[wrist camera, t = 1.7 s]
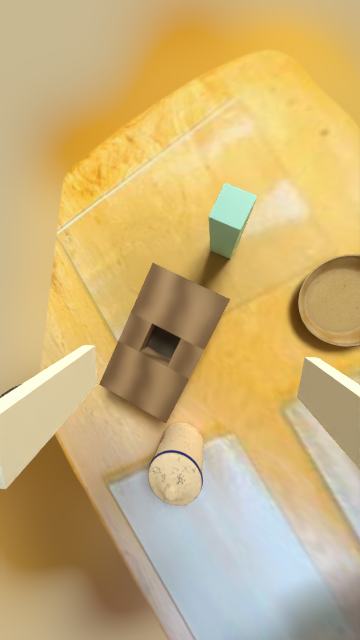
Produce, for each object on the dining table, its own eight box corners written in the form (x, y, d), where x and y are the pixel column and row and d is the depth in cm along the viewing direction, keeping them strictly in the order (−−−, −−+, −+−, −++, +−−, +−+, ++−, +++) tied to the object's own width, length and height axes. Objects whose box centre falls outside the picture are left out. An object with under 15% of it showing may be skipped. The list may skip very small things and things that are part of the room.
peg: (240, 238, 35) (257, 195, 21) (230, 259, 36) (240, 230, 22) (220, 229, 36) (224, 182, 22) (210, 250, 36) (208, 216, 23)
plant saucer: (291, 262, 34) (297, 258, 32) (388, 253, 32) (403, 248, 29) (293, 344, 35) (299, 347, 33) (387, 342, 33) (402, 345, 30)
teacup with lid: (157, 422, 41) (136, 467, 29) (200, 418, 39) (195, 465, 28) (168, 476, 41) (151, 541, 30) (211, 474, 40) (210, 543, 28)
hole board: (227, 300, 36) (229, 299, 31) (173, 405, 40) (166, 423, 34) (162, 269, 38) (152, 262, 32) (115, 373, 42) (99, 384, 36)
